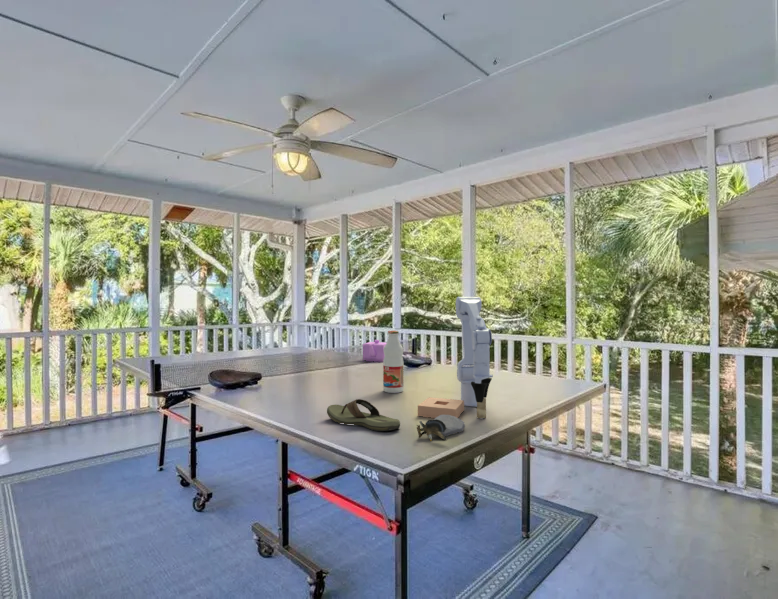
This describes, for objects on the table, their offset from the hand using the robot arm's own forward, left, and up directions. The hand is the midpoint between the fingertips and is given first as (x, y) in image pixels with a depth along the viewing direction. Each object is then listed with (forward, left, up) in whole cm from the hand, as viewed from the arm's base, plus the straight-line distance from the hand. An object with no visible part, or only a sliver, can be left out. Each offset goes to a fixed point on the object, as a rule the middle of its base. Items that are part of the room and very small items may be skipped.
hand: (481, 399), depth 159 cm
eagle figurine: (+29, -10, -7) cm, 32 cm away
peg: (0, 0, -7) cm, 7 cm away
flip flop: (+23, -37, -7) cm, 44 cm away
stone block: (+20, -8, -7) cm, 22 cm away
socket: (0, -15, -7) cm, 16 cm away
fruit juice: (-29, -46, -7) cm, 55 cm away
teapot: (-113, -92, -7) cm, 146 cm away
